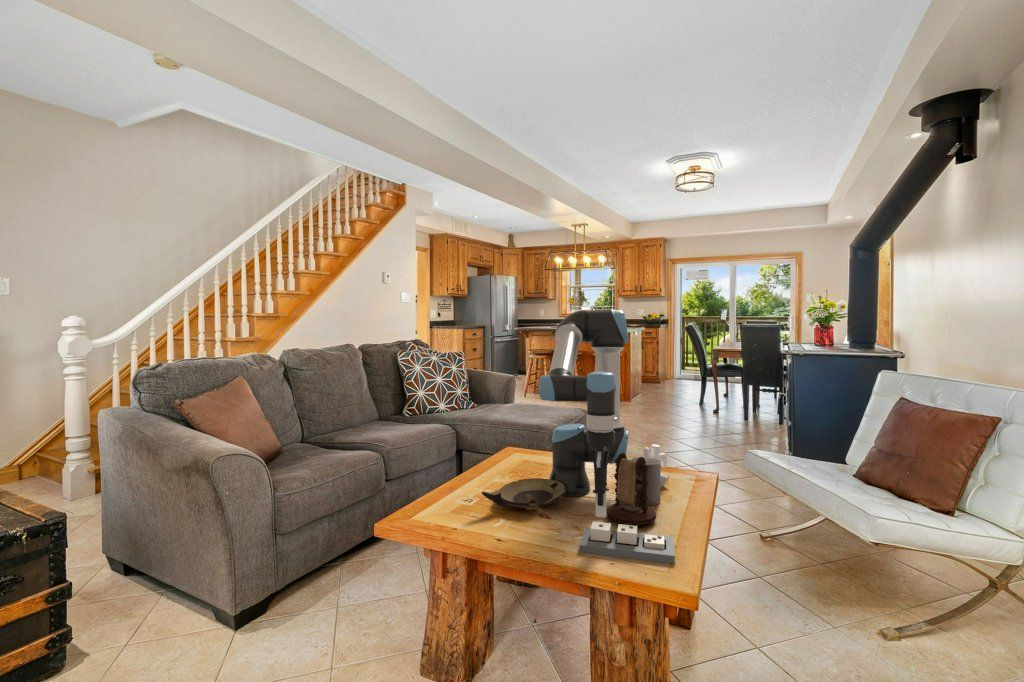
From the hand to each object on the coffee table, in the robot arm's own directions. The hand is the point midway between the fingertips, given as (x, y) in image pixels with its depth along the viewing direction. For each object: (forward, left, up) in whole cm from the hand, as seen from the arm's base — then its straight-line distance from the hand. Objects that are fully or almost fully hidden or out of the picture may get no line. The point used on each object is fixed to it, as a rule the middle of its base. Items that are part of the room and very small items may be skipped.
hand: (600, 515), depth 137 cm
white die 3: (+14, 0, -8) cm, 16 cm away
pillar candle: (+11, +38, -8) cm, 41 cm away
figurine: (+14, +55, -8) cm, 58 cm away
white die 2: (+7, 0, -6) cm, 9 cm away
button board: (+7, 0, -8) cm, 11 cm away
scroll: (+7, +20, -8) cm, 23 cm away
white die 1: (0, 0, -6) cm, 6 cm away
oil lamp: (-28, +24, -8) cm, 38 cm away
